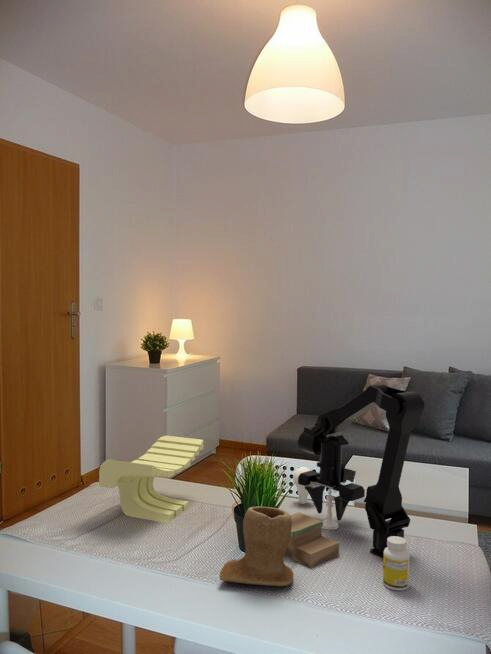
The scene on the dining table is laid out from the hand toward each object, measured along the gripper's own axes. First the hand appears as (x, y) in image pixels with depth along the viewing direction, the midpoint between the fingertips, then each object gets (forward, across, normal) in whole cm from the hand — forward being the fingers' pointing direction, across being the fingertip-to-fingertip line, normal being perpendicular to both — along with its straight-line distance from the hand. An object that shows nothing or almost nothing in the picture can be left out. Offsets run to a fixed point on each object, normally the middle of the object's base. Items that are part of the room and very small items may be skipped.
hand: (329, 516), depth 153 cm
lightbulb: (+3, +16, -7) cm, 18 cm away
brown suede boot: (+3, -9, +34) cm, 36 cm away
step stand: (+2, -6, +17) cm, 18 cm away
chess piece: (+3, 0, 0) cm, 3 cm away
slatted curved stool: (+3, +39, +30) cm, 49 cm away
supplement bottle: (+3, -30, +14) cm, 33 cm away
